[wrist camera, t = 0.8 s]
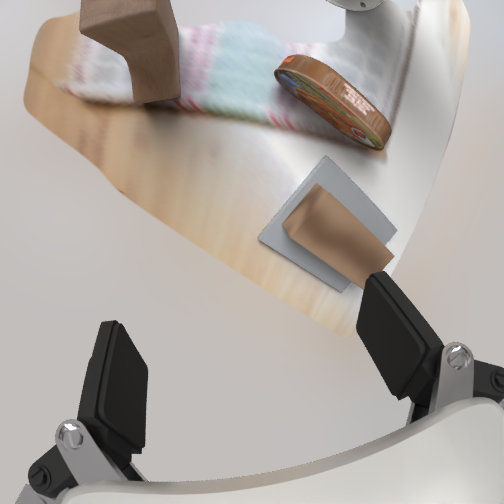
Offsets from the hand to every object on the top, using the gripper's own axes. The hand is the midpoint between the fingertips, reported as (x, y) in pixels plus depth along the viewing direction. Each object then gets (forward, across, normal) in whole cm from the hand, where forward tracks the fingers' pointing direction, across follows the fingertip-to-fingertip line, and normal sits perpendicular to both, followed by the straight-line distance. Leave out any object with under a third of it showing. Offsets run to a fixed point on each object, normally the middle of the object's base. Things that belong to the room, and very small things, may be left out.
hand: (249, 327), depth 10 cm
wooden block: (+26, +5, -13) cm, 29 cm away
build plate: (+26, -16, +12) cm, 32 cm away
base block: (+25, -16, +12) cm, 32 cm away
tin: (+26, -14, -6) cm, 30 cm away
